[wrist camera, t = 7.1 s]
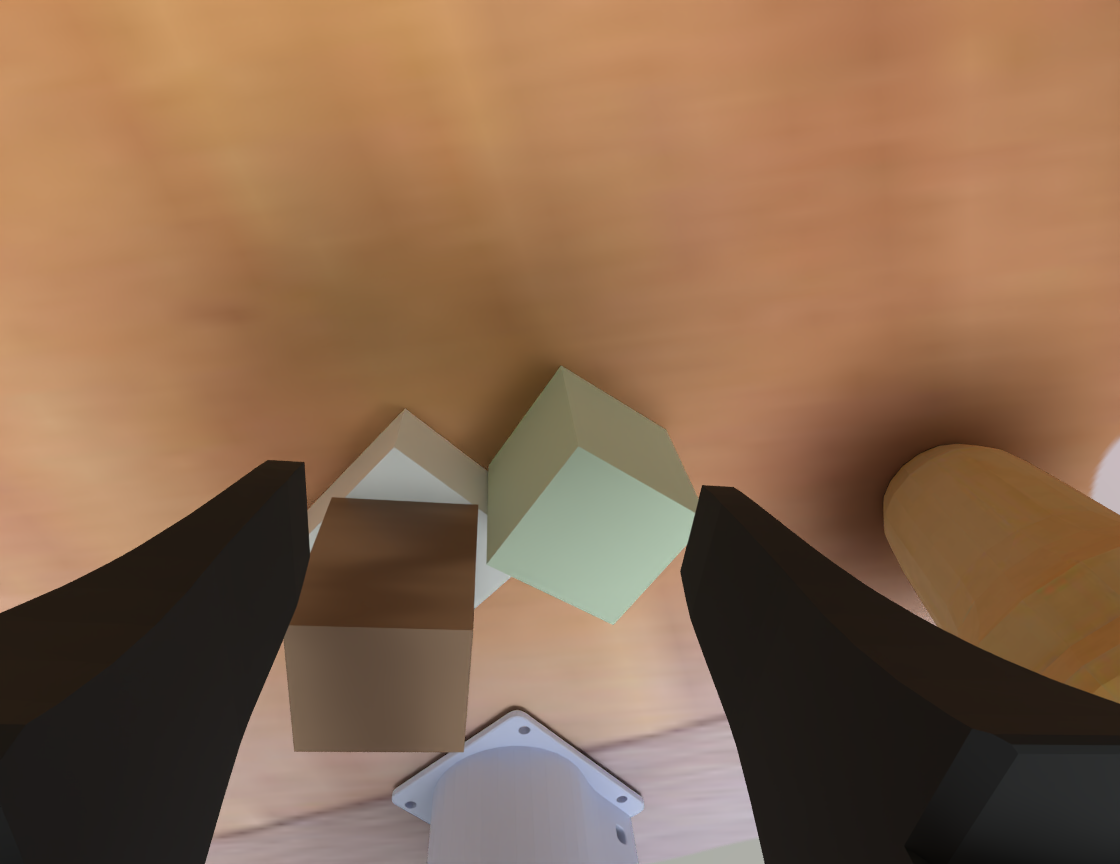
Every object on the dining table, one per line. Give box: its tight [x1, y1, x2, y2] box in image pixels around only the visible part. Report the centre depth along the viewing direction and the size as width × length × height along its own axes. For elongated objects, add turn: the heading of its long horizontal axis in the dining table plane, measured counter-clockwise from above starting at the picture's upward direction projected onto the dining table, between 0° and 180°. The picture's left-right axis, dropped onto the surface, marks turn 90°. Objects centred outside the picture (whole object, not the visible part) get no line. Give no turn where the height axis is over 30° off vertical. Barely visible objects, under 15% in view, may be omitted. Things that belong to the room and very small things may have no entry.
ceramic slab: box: [307, 409, 511, 609], centre depth 24 cm, size 6×6×3 cm
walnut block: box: [284, 497, 478, 752], centre depth 20 cm, size 4×4×6 cm
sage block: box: [486, 366, 699, 625], centre depth 22 cm, size 4×4×6 cm
